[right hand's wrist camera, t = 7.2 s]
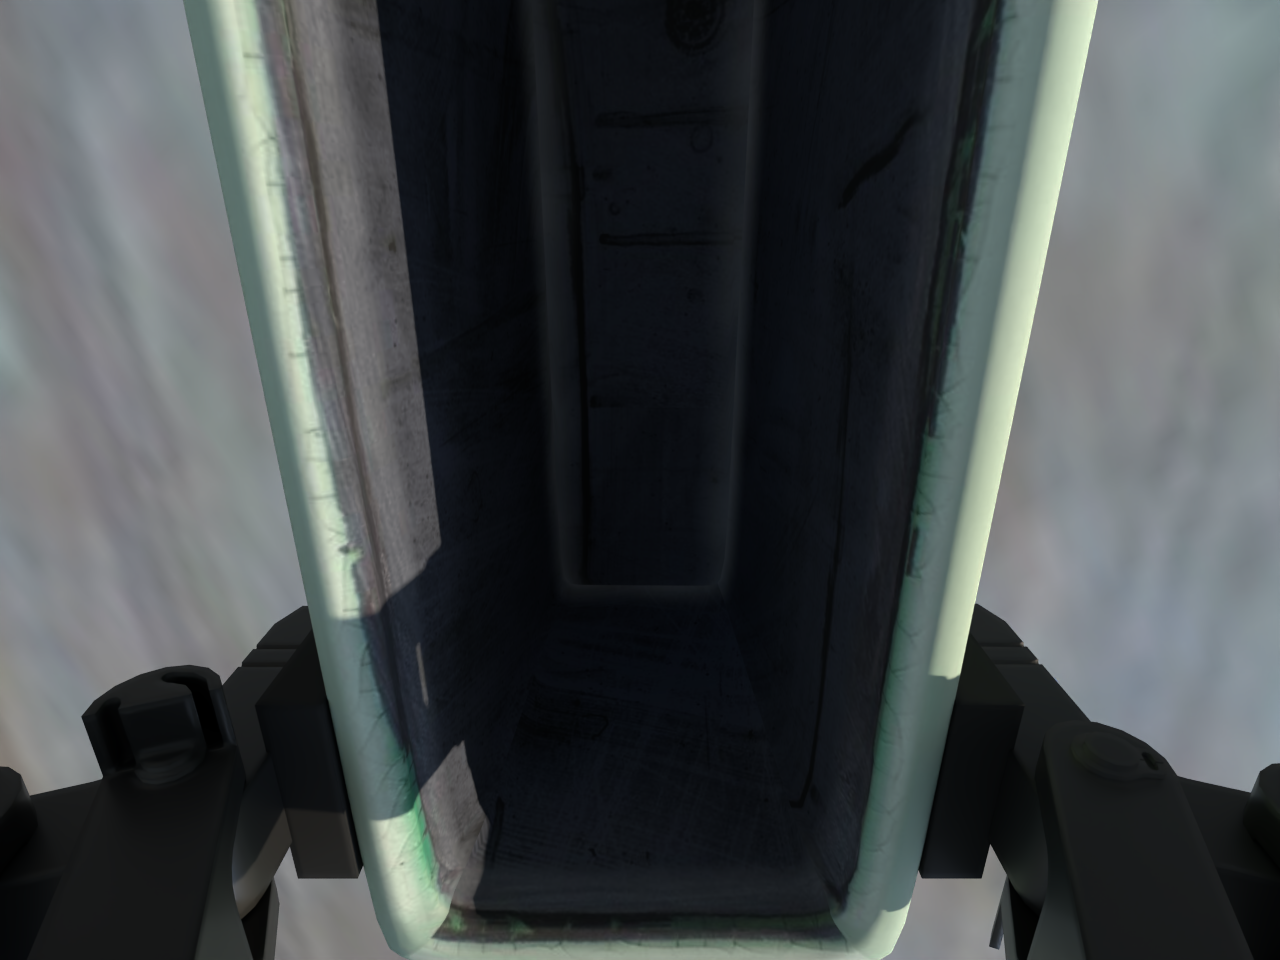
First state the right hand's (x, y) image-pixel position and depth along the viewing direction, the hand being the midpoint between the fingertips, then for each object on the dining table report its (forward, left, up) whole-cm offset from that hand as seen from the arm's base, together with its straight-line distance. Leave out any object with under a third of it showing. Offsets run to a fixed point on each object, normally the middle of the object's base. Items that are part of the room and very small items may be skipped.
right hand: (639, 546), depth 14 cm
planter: (+5, +9, -1) cm, 11 cm away
